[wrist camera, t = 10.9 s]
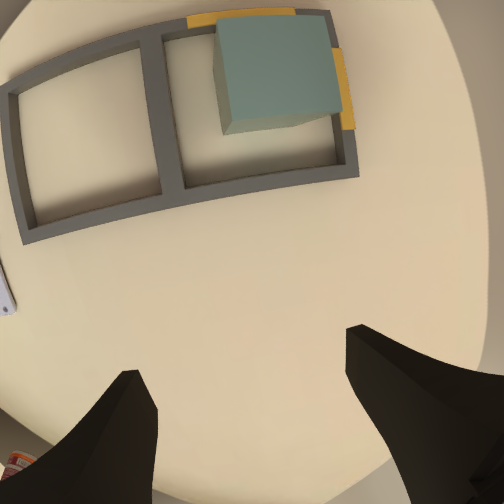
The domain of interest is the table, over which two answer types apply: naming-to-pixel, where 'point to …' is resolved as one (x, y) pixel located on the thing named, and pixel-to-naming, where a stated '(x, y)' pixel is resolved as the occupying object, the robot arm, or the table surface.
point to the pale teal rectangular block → (273, 72)
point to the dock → (162, 127)
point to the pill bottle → (17, 463)
